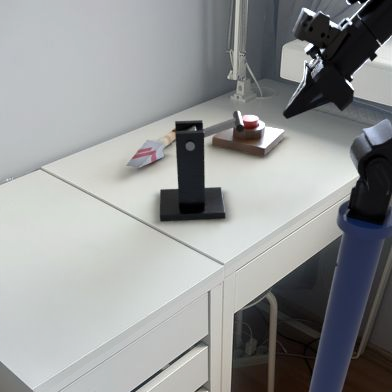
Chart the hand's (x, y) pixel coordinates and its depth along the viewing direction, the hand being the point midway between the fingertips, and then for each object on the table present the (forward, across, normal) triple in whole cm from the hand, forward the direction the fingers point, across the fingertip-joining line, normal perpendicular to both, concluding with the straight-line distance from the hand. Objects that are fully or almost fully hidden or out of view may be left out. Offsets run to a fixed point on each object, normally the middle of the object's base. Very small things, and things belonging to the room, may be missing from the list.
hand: (284, 116), depth 79 cm
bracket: (+21, +2, -1) cm, 21 cm away
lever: (+9, +2, -6) cm, 11 cm away
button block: (+13, -25, +5) cm, 29 cm away
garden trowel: (+26, -18, -9) cm, 33 cm away
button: (+11, -25, +3) cm, 28 cm away
